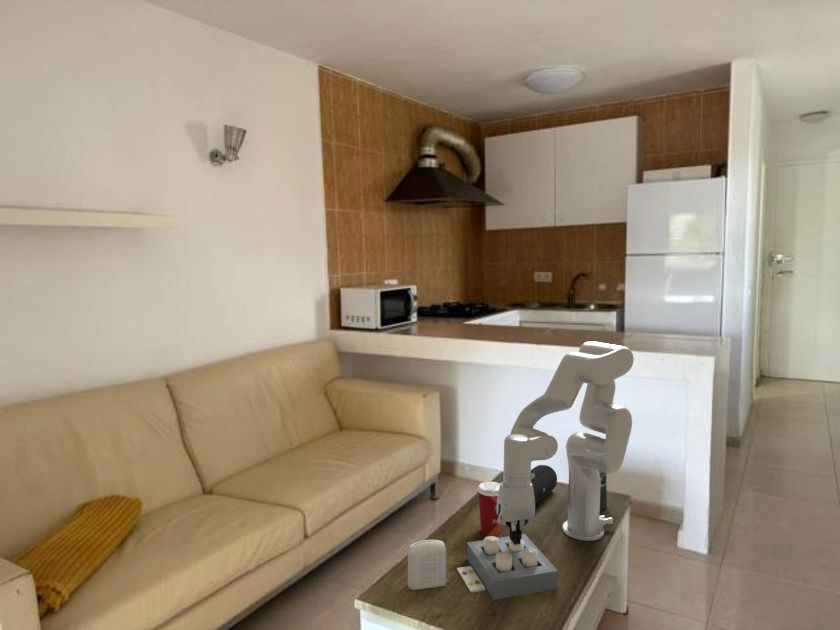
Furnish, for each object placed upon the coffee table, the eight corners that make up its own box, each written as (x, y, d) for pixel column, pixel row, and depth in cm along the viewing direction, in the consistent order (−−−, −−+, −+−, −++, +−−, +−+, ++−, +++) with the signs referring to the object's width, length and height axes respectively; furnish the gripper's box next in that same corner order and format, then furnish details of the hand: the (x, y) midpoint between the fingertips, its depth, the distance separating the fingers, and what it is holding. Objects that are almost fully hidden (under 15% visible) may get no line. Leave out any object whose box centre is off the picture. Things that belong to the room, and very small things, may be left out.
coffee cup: (502, 539, 175) (503, 492, 173) (476, 536, 176) (476, 490, 175) (504, 526, 183) (504, 481, 181) (478, 523, 185) (478, 479, 183)
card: (470, 567, 160) (470, 565, 160) (485, 590, 149) (485, 587, 149) (457, 569, 159) (457, 567, 159) (470, 592, 148) (470, 590, 148)
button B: (533, 562, 156) (533, 545, 155) (540, 571, 152) (540, 553, 151) (519, 565, 155) (519, 548, 154) (525, 573, 151) (526, 556, 150)
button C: (495, 550, 162) (495, 534, 161) (501, 558, 158) (501, 541, 157) (481, 553, 161) (481, 536, 160) (487, 560, 157) (487, 544, 156)
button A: (519, 553, 164) (520, 536, 164) (526, 560, 160) (526, 544, 160) (506, 555, 163) (506, 539, 163) (512, 563, 159) (512, 546, 158)
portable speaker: (527, 519, 188) (528, 490, 187) (501, 511, 194) (501, 483, 192) (559, 492, 208) (559, 466, 207) (534, 485, 214) (534, 460, 213)
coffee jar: (589, 499, 202) (590, 448, 200) (610, 506, 196) (611, 454, 194) (574, 508, 195) (576, 456, 193) (596, 515, 190) (597, 462, 187)
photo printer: (443, 577, 155) (443, 534, 153) (447, 586, 151) (447, 542, 149) (406, 583, 153) (405, 539, 151) (409, 592, 149) (409, 547, 147)
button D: (507, 566, 154) (508, 549, 153) (514, 575, 150) (514, 558, 149) (493, 569, 153) (493, 552, 152) (499, 578, 149) (499, 560, 148)
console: (524, 549, 169) (524, 533, 168) (557, 588, 149) (557, 570, 149) (466, 558, 164) (467, 542, 163) (493, 600, 145) (493, 581, 144)
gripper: (535, 471, 164) (533, 532, 166) (486, 477, 160) (485, 538, 162) (547, 482, 157) (545, 545, 159) (497, 487, 153) (495, 552, 155)
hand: (515, 541), depth 161 cm, fingers closed
